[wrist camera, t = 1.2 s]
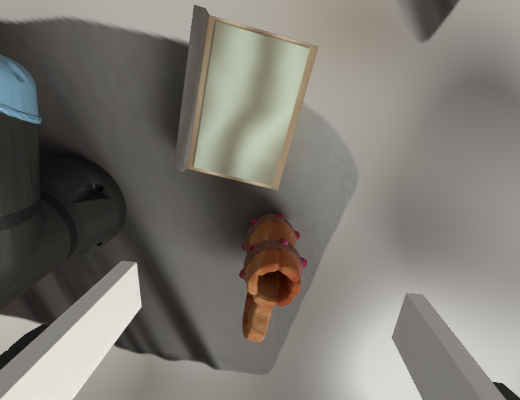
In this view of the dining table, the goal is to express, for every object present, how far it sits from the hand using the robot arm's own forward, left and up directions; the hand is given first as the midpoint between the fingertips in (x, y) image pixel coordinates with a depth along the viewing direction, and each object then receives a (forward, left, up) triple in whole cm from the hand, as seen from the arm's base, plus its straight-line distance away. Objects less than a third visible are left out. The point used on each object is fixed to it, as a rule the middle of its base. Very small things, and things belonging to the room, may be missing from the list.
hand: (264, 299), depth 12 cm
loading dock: (-5, +8, -27) cm, 29 cm away
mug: (+3, -12, -27) cm, 30 cm away
